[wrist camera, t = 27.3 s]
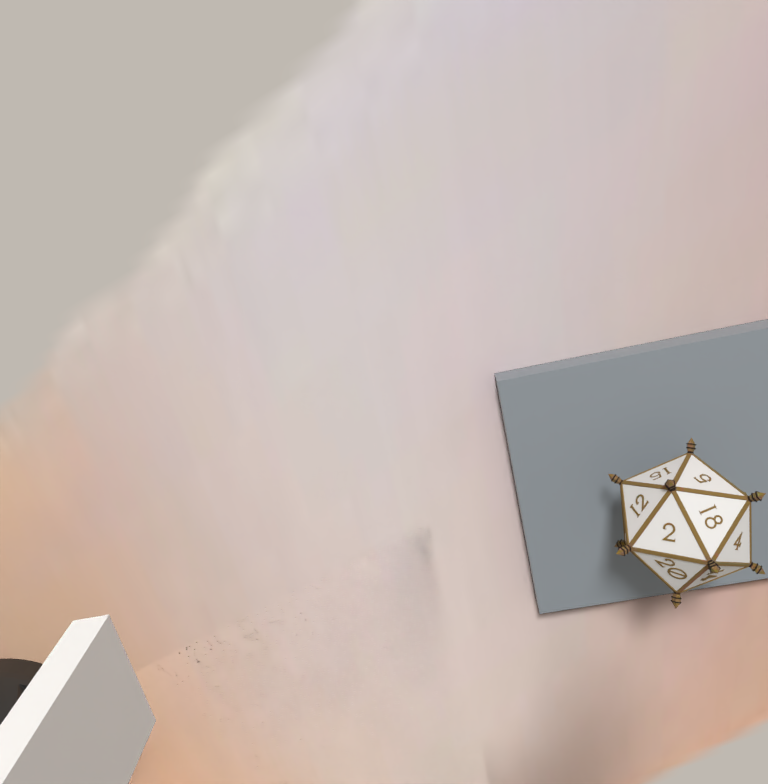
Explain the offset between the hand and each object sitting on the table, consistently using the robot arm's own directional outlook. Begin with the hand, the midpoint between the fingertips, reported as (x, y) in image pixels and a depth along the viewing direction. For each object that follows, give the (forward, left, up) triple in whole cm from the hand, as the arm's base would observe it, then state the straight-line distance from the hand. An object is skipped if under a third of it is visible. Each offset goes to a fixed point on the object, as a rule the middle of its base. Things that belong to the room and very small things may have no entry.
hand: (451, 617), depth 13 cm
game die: (+12, -16, -30) cm, 36 cm away
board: (+12, -16, -32) cm, 37 cm away
